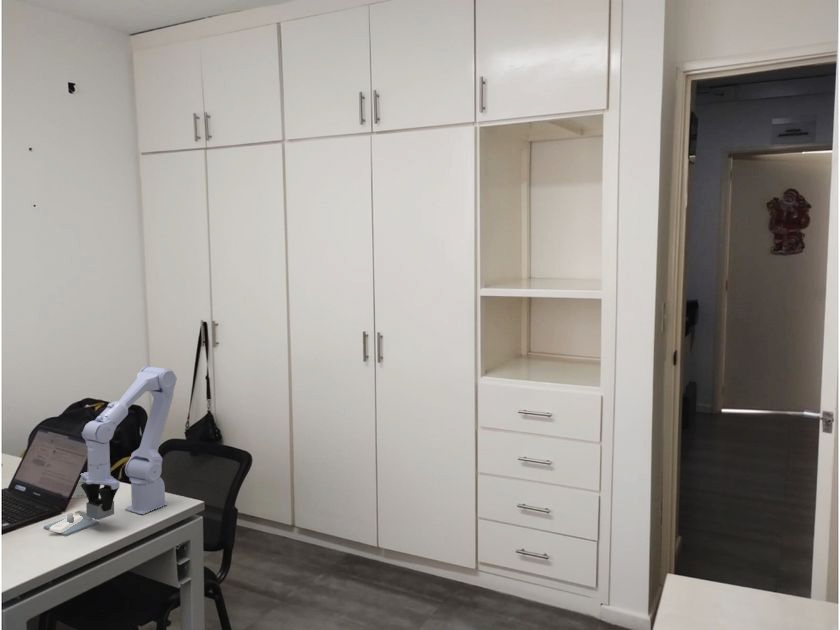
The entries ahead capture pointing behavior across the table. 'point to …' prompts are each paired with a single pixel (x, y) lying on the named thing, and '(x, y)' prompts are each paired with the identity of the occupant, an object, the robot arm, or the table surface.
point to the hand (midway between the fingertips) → (100, 508)
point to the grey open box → (98, 509)
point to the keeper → (77, 527)
